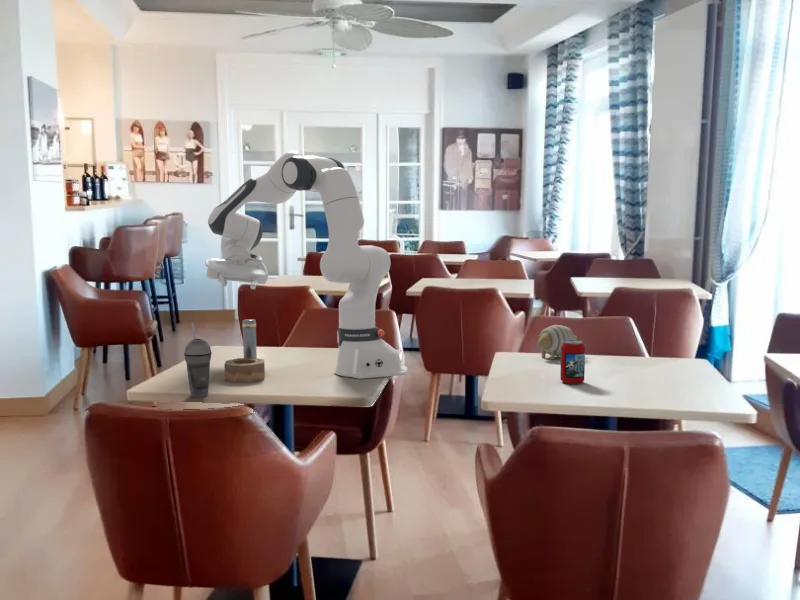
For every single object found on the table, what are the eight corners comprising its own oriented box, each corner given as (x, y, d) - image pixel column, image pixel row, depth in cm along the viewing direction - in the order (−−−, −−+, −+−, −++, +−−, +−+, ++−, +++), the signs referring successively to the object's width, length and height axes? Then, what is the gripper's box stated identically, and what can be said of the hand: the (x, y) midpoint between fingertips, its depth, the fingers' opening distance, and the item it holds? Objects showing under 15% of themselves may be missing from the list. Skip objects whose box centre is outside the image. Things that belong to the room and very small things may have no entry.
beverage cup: (209, 398, 203) (206, 324, 201) (182, 398, 204) (179, 324, 201) (216, 392, 211) (213, 320, 208) (190, 392, 211) (187, 320, 209)
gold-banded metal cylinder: (257, 368, 242) (256, 318, 240) (257, 371, 238) (255, 320, 236) (244, 369, 241) (242, 319, 239) (243, 372, 237) (241, 321, 235)
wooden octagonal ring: (265, 373, 235) (264, 357, 234) (263, 381, 223) (263, 364, 223) (227, 374, 233) (226, 358, 233) (223, 383, 222) (223, 366, 221)
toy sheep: (528, 358, 256) (529, 325, 255) (562, 352, 266) (562, 320, 265) (552, 362, 248) (553, 329, 247) (586, 356, 258) (586, 324, 257)
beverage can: (570, 386, 215) (571, 344, 214) (555, 381, 221) (556, 340, 220) (589, 383, 218) (590, 342, 217) (573, 379, 224) (574, 338, 223)
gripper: (206, 250, 256) (208, 275, 245) (266, 257, 263) (271, 281, 253) (203, 265, 259) (205, 290, 249) (263, 272, 267) (267, 296, 256)
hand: (239, 286), depth 251 cm, fingers open, 8 cm apart
